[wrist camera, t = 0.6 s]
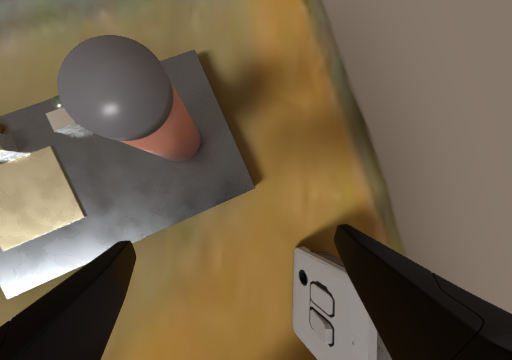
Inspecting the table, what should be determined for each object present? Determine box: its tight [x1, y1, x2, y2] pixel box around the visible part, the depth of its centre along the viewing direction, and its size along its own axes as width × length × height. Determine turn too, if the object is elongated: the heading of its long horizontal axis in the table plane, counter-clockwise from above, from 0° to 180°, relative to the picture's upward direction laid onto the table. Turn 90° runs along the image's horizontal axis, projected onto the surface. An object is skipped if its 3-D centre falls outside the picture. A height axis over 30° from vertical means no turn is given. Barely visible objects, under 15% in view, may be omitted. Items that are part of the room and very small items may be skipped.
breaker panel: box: [0, 50, 255, 299], centre depth 19 cm, size 15×24×3 cm, turn 114°
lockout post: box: [58, 35, 201, 161], centre depth 14 cm, size 4×4×11 cm
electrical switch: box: [293, 246, 392, 360], centre depth 19 cm, size 9×5×9 cm, turn 178°
